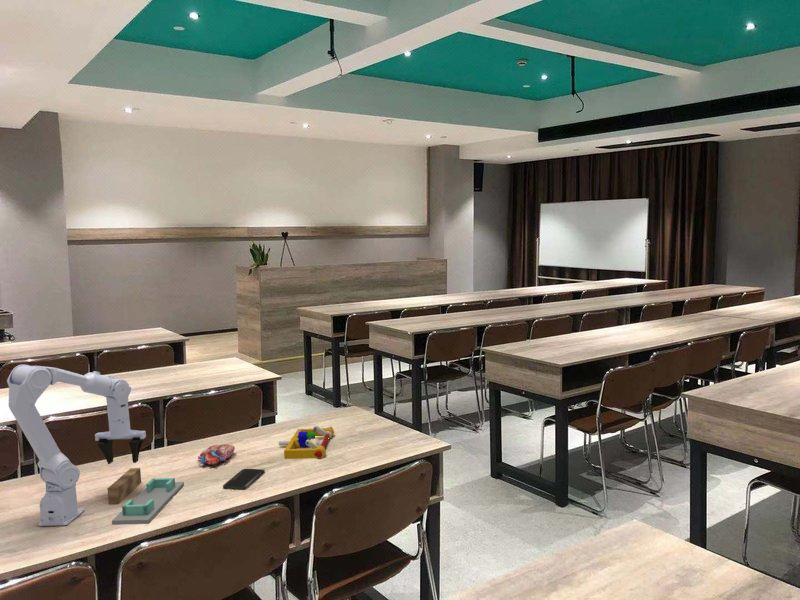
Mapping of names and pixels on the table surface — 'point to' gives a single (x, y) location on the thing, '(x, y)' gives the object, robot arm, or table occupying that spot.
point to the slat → (124, 486)
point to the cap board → (148, 501)
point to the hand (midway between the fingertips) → (123, 462)
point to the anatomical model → (216, 454)
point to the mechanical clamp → (307, 443)
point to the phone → (244, 479)
